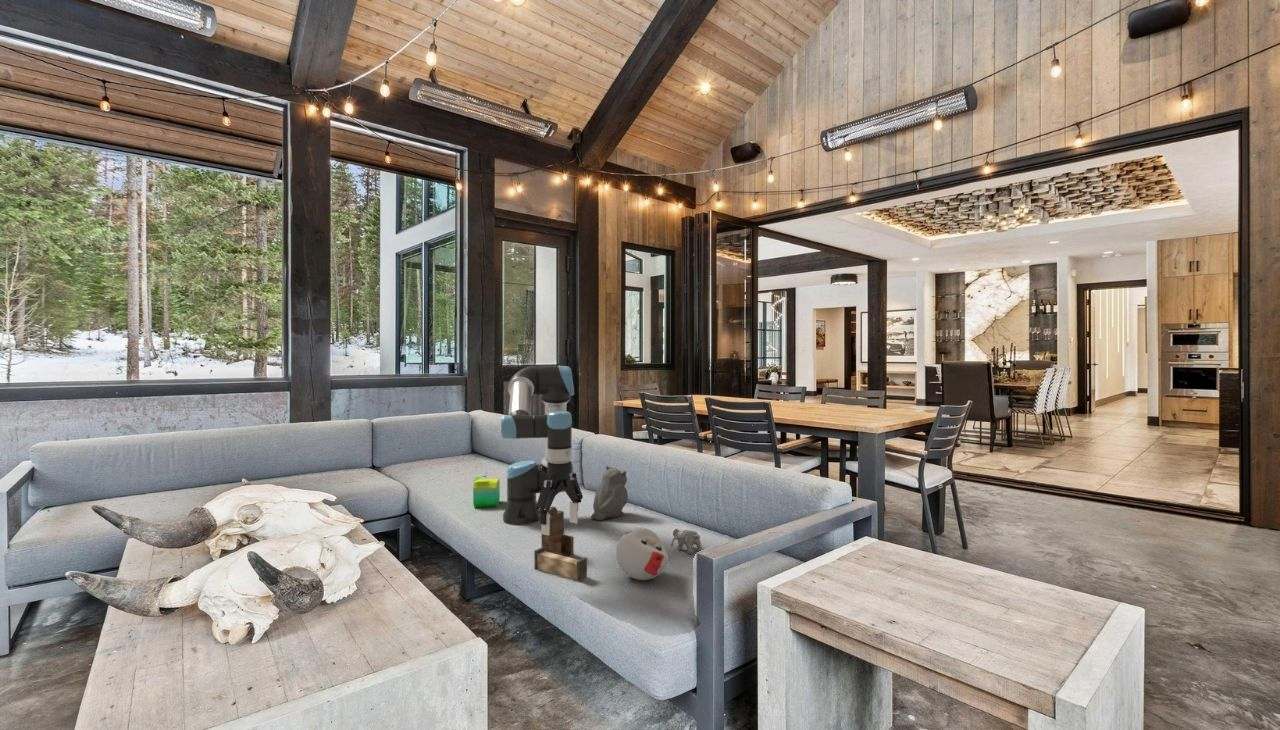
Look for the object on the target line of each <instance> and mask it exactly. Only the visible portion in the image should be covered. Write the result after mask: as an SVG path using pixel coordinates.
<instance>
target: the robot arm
mask: <svg viewBox="0 0 1280 730" xmlns="http://www.w3.org/2000/svg"><path fill="white" fill-rule="evenodd" d="M573 381H574V380H573V373H572V368H571V367H570V366H568V365H567V366H566V365H531V366H525V367H524V368H522V369H520V370H519V371H517V372H516V373H514V375H513V376H512V377H511V378H510V380H509V382H508V387H507V391H508V395H509V404H508V405H509V406H508V415H503V416H501V418H500V435H501V437H502V439H511V440H516V439H544V457H543V458H542V459H541V461H540V464H538V463H537V461H535V460H522V461H517V462H514V463H511V464H510V465H509V466H508V467H507V469H506V481H507V482H506V486H507V487H506V489H507V491H506V495H507V496H506V500H507V501H506V504H505V508H504V511H503V513H502V521H503V522H504V523H506V524H510V525H528V524H533V523H535V522H538V521H539V523H540V526H541V527H540V530H541V532H540V534H541V535H542V534H543V535H550V514H549V513H548V511H549V509H550V507H552V504H553V502H554V500H555V498H556V496H557V495H558V494H559V493H563V492H564V493H566V495H567V496H568V498H569V499H570V502H569V523H572V524H579V523H578V519H579V504H581V503H582V499H583V498H584V495H583V493H582V490H581V488H580V485H579V482H578V478H577V473H576V472H574V464H573V463H572V459H573V457H572V438H573V437H572V424H573V420H572V413H571V412H570V411H567V410H568V409H567V407H568V405H567V404H568V403H569V402H570V401H571V397H572V396H574V395H575V388H574V382H573ZM535 396H536V397H540V400H541V402H543V404H544V414H532V397H535ZM537 494H539V495H538V499H537Z"/></svg>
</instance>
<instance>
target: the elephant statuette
mask: <svg viewBox="0 0 1280 730" xmlns="http://www.w3.org/2000/svg"><path fill="white" fill-rule="evenodd" d="M672 536H673V538H672V540H671V543H670V547H671V548H672V547H674V542H676V541H675V540H677V546H676V547H677V549H678V550H679V551H680V550H682V548H683V547H684V545H685V548H686V553H687V554H688V555H691V554H693V553H694V550H693V548H692V547H694V546H696V548H697V551H698V552H699V551H701V550H702V551H703V545H702V543H701V540H700V539H701V535H699V534H698V532H697V531H695V530H689V529H688V530H686V529H685V530H679V528H677V529H676V528H675V529H674V530H673V532H672ZM702 551H701V552H702Z"/></svg>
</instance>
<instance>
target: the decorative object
mask: <svg viewBox="0 0 1280 730" xmlns="http://www.w3.org/2000/svg"><path fill="white" fill-rule="evenodd" d="M662 542H663V541H662V540H661V538H659V536H658V535H657V534H656V533H655V532H654V531H653V530H652V529H650V528H647V527H644V526H643V527H642V526H637V527H634V528H631V529H629V530H627V531H626V532H625V533H624V534H623V535H622V536H621V537H620V539H619V541H618V543H617V547H616V553H615V554H616V560H617V563H618V565H619V567H620V568H621V570H622V571H623V572H624V573H625V574H626V575H627V576H629V577H631V578H632V579H635V580H639V581H649V580H652V579H655V578H656V577H658V576H660V574H662V572H663V571H664V570H665V569H666V567H667V564H668V561H669V555H668V553H667V551H666V548H665V546H664V544H663V543H662Z"/></svg>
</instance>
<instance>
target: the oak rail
mask: <svg viewBox="0 0 1280 730" xmlns="http://www.w3.org/2000/svg"><path fill="white" fill-rule="evenodd" d="M533 551H534V552H533V553H534V555H533V557H534V559H533V560H534V561H533V563H534V570H539V571H543V572H546V573H550V574H553V575H555V576H559V577H563V578H567V579H571V580H575V581H576V582H581V581H583V580H584V579H586V578H588V558H587V557H583V558H581V559H577V558H573V557H568V556H565V555H562V554H561V555H558V554H554V553H550V552H546V551H545V547H542V546H541V547H540V548H537V549H534V550H533Z"/></svg>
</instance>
